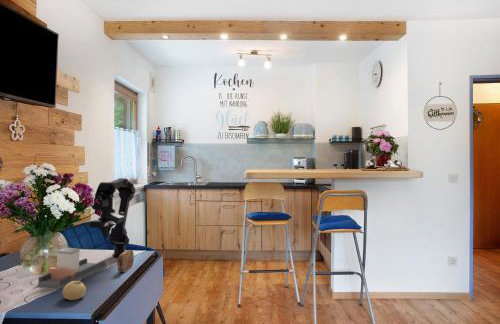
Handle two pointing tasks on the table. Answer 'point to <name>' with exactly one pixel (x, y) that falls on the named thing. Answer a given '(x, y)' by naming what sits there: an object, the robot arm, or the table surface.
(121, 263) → the tin
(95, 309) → the table surface
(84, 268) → the cable rail
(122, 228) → the robot arm
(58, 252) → the pale grey box
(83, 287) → the onion
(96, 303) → the table surface
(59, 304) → the table surface
